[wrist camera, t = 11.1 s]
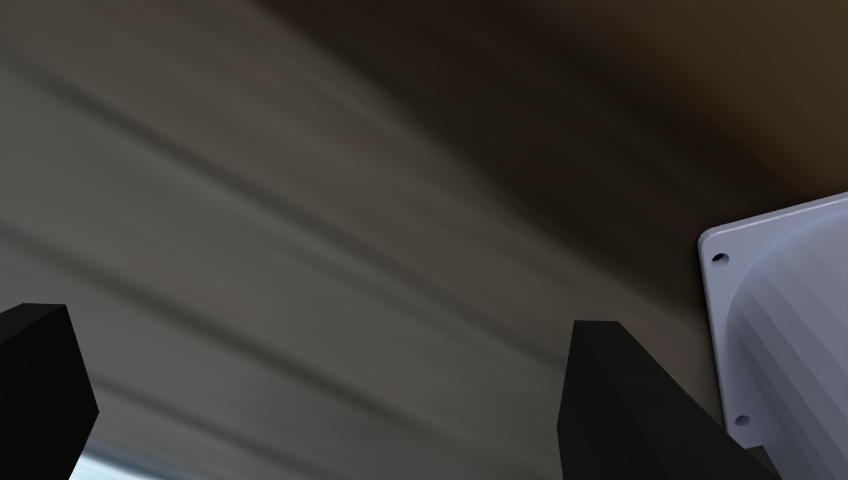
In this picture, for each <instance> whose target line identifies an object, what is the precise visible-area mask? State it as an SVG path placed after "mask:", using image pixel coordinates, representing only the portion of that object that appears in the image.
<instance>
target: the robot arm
mask: <svg viewBox="0 0 848 480" xmlns="http://www.w3.org/2000/svg"><path fill="white" fill-rule="evenodd" d="M698 251H699V258H700V264H701V271H702V277H703V284H704V290H705V296H706V303H707V309H708V316H709V322H710V329H711V335H712V341H713V348H714V354H715V361H716V367H717V374H718V380H719V386H720V393H721V399H722V406H723V412H724V419H725V425H726V431H727V432H726V431H725V430H724V429H723V428H722V427H721V426H720V425H719V424H717V423H716V422H715V421H714V420H713V419H712V418H711V417H710V416H709V415H708V414H707V413H706V412H705V411H704V410H703V409H702V408H701V407H700V406H699V405H698V404H697V403H696V402H695V401H694V400H693V399H692V398H691V397H690V396H689V395H688V394H687V393H686V392H685V391H684V390H683V389H682V388H681V387H680V386H679V385H678V384H677V382H676V381H675V380H674V379H673V378H672V377H671V376H670V375H669V374H668V373H667V372H666V371H665V370H664V369H663V368H662V367H661V366H660V365H659V364H658V363H657V362H656V361H655V360H654V358H653V357H652V356H651V355H650V354H649V353H648V352H647V351H646V350H645V349H644V348H643V347H642V346H641V345H640V344H639V343H638V342H637V340H636V339H635V338H634V337H633V336H632V335H631V334H630V333H629V332H628V331H627V330H626V329H625V328H624V327H623V326H622V325H621V324H620V323H619V322H616V321H583V320H574V326H573V332H572V338H571V344H570V350H569V356H568V362H567V368H566V374H565V380H564V387H563V393H562V399H561V405H560V411H559V417H558V423H557V433H558V441H559V449H560V457H561V465H562V472H563V479H564V480H778V479H777V478H776V477H775V476H774V475H773V474H771V473H770V472H769V471H768V470H767V469H766V468H765V467H764V466H762V465H761V464H760V463H759V462H758V461H757V460H756V459H755V458H753V457H752V456H751V455H750V454H749V453H748V452H747V451H746V450H745V449H746V448H751V447H756V446H761V445H763V447H764V448H765V450H766V452H767V454H768V455H769V457H770V459H771V461H772V462H773V464H774V466H775V467H776V469H777V471H778V473H779V474H780V476H781V478H782V480H848V192H845V193H841V194H837V195H833V196H830V197H826V198H822V199H818V200H815V201H811V202H807V203H804V204H800V205H796V206H792V207H789V208H785V209H781V210H777V211H774V212H770V213H766V214H762V215H759V216H755V217H751V218H747V219H744V220H740V221H736V222H733V223H729V224H725V225H721V226H718V227H714V228H711V229H709V230H706V231H705V232H704V233H703V234H702V235H701V236H700V238H699V240H698ZM719 253H724V256H723V257H722V258H721V259H720V260H718V261H712V259H713V257H714V256H715V255H717V254H719ZM98 414H99V410H98V406H97V403H96V400H95V397H94V394H93V390H92V387H91V384H90V381H89V378H88V374H87V371H86V368H85V365H84V362H83V358H82V355H81V352H80V349H79V345H78V342H77V339H76V336H75V333H74V329H73V326H72V323H71V320H70V317H69V313H68V310H67V307H66V304H34V303H23V304H20V305H18V306H16V307H13V308H11V309H9V310H6V311H4V312H2V313H0V480H69V478H70V476H71V474H72V472H73V470H74V468H75V466H76V463H77V461H78V459H79V457H80V455H81V453H82V451H83V449H84V446H85V444H86V442H87V439H88V437H89V435H90V432H91V430H92V428H93V425H94V423H95V421H96V418H97V416H98ZM741 415H743V416H742V417H740V418H737V417H739V416H741Z"/></svg>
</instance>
